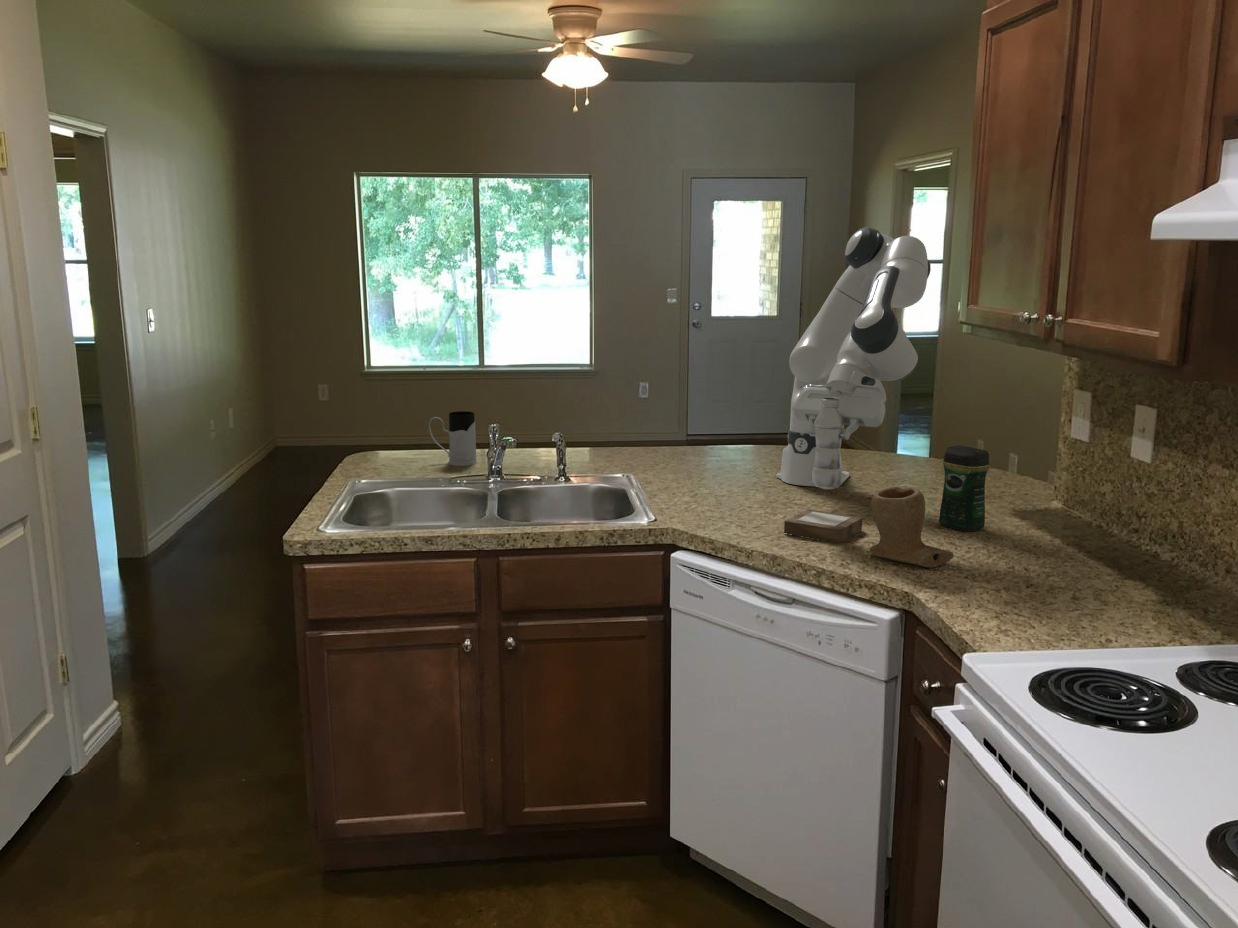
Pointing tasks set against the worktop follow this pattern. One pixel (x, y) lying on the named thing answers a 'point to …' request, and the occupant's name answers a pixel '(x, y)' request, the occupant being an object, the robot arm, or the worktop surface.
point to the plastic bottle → (828, 445)
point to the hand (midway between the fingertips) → (828, 436)
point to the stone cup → (903, 528)
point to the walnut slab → (823, 525)
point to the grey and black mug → (460, 438)
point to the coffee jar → (964, 488)
